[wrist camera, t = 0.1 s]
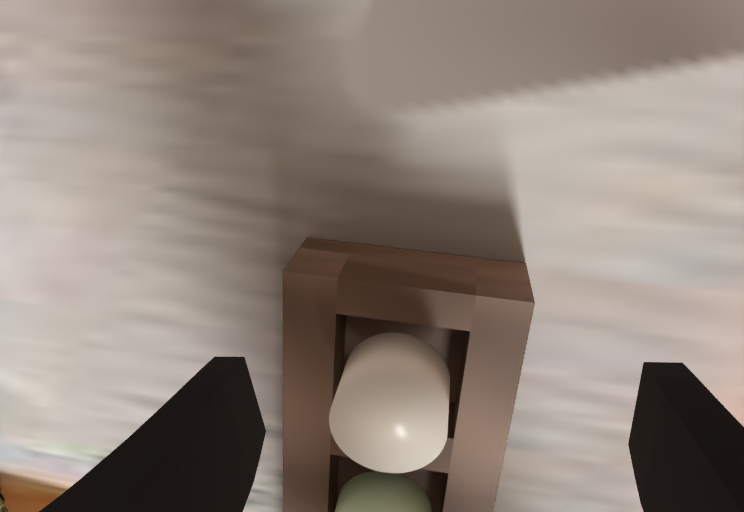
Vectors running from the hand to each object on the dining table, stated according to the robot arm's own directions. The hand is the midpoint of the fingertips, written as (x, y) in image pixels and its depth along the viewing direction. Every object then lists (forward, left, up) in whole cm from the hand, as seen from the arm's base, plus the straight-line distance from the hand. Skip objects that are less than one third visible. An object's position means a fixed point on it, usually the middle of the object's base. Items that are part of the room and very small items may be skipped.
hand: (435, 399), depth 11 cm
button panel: (-10, -5, -10) cm, 15 cm away
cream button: (-5, -2, -7) cm, 9 cm away
